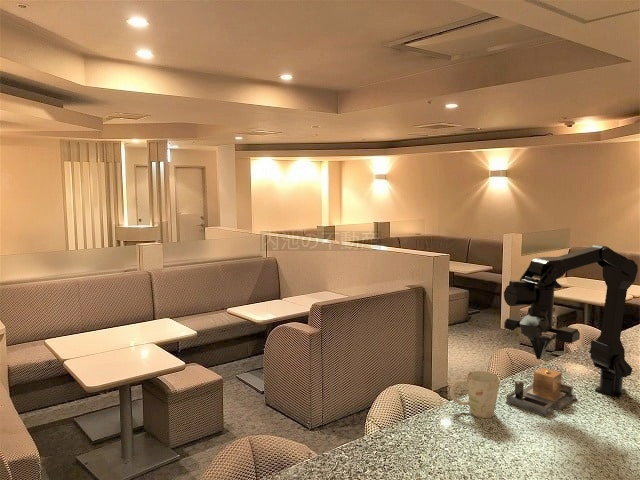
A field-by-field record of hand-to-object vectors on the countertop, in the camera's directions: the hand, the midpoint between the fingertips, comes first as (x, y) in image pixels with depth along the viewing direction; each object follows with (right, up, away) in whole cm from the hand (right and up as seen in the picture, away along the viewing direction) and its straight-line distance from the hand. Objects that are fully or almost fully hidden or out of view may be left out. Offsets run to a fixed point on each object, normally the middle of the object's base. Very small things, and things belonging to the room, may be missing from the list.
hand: (538, 358), depth 139 cm
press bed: (+4, -12, +3) cm, 13 cm away
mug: (-20, -13, -6) cm, 25 cm away
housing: (+4, -10, +3) cm, 12 cm away
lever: (-6, -11, -1) cm, 13 cm away
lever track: (-4, -12, -3) cm, 13 cm away
